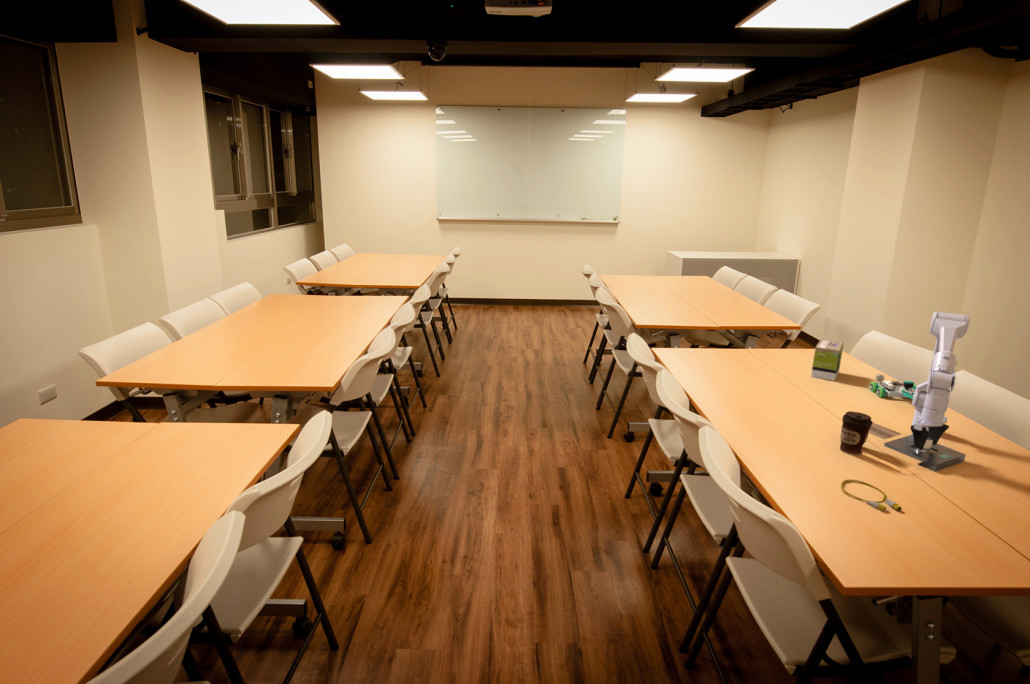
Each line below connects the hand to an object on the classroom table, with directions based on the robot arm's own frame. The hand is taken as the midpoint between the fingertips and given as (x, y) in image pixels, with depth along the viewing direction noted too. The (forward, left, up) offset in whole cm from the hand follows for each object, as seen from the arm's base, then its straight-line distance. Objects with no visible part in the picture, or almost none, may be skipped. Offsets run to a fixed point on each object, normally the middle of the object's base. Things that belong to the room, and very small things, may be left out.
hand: (925, 446), depth 181 cm
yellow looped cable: (+41, +8, -4) cm, 42 cm away
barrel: (0, 0, -3) cm, 3 cm away
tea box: (-43, -66, -4) cm, 79 cm away
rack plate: (0, 0, -3) cm, 3 cm away
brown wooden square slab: (-2, -16, -3) cm, 16 cm away
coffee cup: (+19, -12, -4) cm, 23 cm away
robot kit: (-45, -33, -4) cm, 56 cm away
